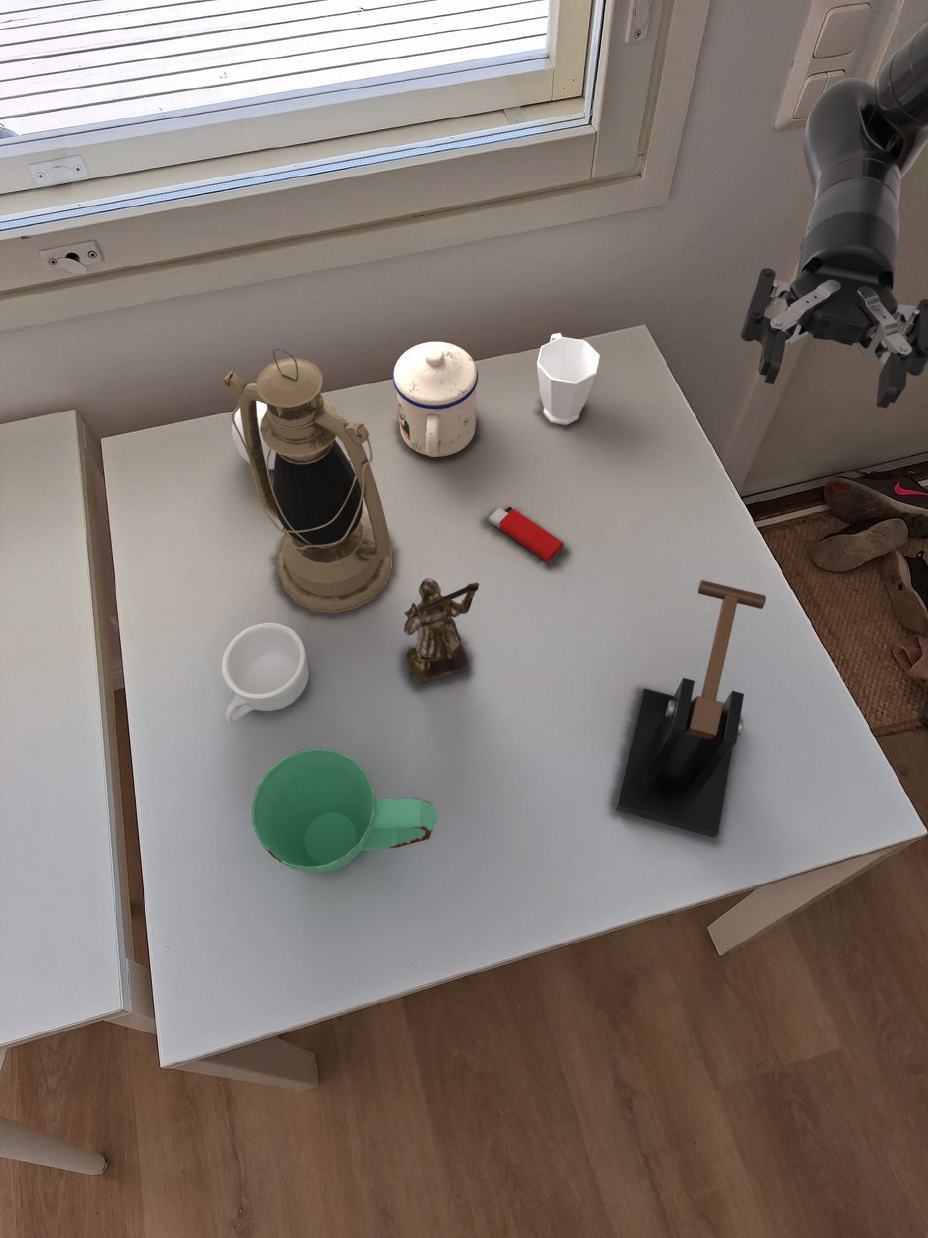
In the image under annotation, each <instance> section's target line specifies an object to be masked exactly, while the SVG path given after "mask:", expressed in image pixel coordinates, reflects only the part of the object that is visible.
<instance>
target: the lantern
mask: <svg viewBox="0 0 928 1238" xmlns="http://www.w3.org/2000/svg"><path fill="white" fill-rule="evenodd" d="M276 351H280V352H283V353H285V354H287V355H288V356H290V357H288V358H287V357H286V358H282V359H278V360H277V358H276V355H275V352H276ZM272 356H273V359H274V360H273V361H274V362H271V363H269V364H268V365H267V366H265V368H263V369H262V370H261V371H260V373H259V375H258V377H257V379H256V383H255V382H253V383H252V382H251V383H247V382H246V381H245V380H243V379H242V378H241V377H240V376H238V375H237V374H235V372H234V371H230V372H229V373H228V374H226V376H224V377H225V378H224V379H223V380H222V384H223V386H224V387H225V389H226V390H227V391H228V392H230V393H231V395H233V396H234V397H236V398H237V406H236V408H235V409H234V410H233V411H232V412H231V422H232V425H233V424H234V426H235V429H236V431H237V433H238V435H239V436H240V439H241V441H242V443H243V445H244V447H245V449H246V452H247V454H248V457H249V461H250V463H249V465H250V468H251V473H252V475H253V480H254V482H255V487H256V492H257V494H258V500H259V504H260V507H261V509H262V511H263V513H264V514H265V515H266V517H267V518H268V520H269V521H270V522H271V523H272V524H273V525H274V526H275V527H276V528H277V530H279V531H280V532H281V533H282V534H283V536H282V540H281V541H282V542H281V544H282V545H281V551H280V553H279V555H278V563H277V564H278V567H277V575H278V578H279V580H280V582H281V586H282V588H283V590H284V592H285V593H286V594H287V595H288V596H289V597H290V598H291V599H292V600H293V601H294V602H295V603H296V604H297V605H300V606H302V607H305V609H309V610H311V611H312V612H318V613H328V614H339V613H342V612H347V611H353V610H356V609H357V608H359V607H361V606H364V605H365V604H366V603H369V602H371V601H372V600H374V598H375V597H376V596H377V595H378V594H379V593H380V592H381V591H382V590H383V589H384V587H386V585H387V583H388V580H389V577H390V575H391V572H392V570H393V552H392V548H391V539H390V535H389V528H388V523H387V520H386V515H385V512H384V507H383V504H382V500H381V497H380V493H379V489H378V486H377V481H376V479H375V476H374V473H373V470H372V468H371V465H370V463H372V461H373V459H374V458H373V457H374V454H373V449H372V444H371V441H370V438H369V437H370V433H369V430H368V428H367V427H365V424H364V423H363V422H356V421H352V422H350V421H348V420H347V419H346V418H345V417H343V416H341V415H340V414H338V410H337V409H336V408H335V406H334V405H333V404H332V403H331V402H330V401H328V400H326V399H325V398H324V397H323V395H322V392H321V389H322V387H323V382H324V381H323V374H322V372H321V370H320V368H319V367H318V366H317V365H315V364H314V363H313V362H311V361H309V360H306V359H305V358H304V359H303V358H299V357H298V358H297V357H294V356H293V355H292V354H291V353H289V352H288V351H286V350H284V349H282V348H274V349H273V350H272ZM257 401H258V402H261V403H264V404H266V406H267V411H266V413H265V414H264V416H263V418H262V420H261V427H260V431H261V435H262V438H263V441H264V442H265V443H266V444H267V446H268V447H269V448H270V450H269V453H268V456H267V463H265V459H264V454H263V449H262V443H261V438H260V432H259V425H258V417H257ZM239 409H240V415H241V421H242V427H243V433H244V438H245V442H244V440H243V438H242V436H241V434H240V432H239V430H238V428H237V426H236V423H235V421H234V417H235V415H236V413H237V411H238V410H239ZM336 438H338V439H339V440H340V441H341V443H342V445H343V446H344V449H345V451H346V453H347V455H346V453H345V452H344V451H343V449H342V447H341V445H340V443H338V441H337V440H336ZM366 442H367V444H368V450H369V453H370V455H369V457H370V458H368V456H367V452H366V451H365V448H364V446H363V444H364V443H366ZM245 443H246V444H245ZM271 449H272V450H273V451H275V452H276V454H275V463H274V470H273V482H272V481H271V477H270V469H268V459H269V455H270V452H271ZM347 456H348V457H347ZM348 458H349V459H348ZM266 466H267V467H266ZM364 504H365V507H366V511H367V514H366V512H364ZM269 514H270V515H272V516H273V517H274V518H275V519H276V520H278V521H279V522H280V525H282V527H283V528H281V527H280V526H279V525H278V524H277V523H276V522H275V521H274V519H272V517H271V516H270V515H269Z"/></svg>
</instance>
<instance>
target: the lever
mask: <svg viewBox="0 0 928 1238" xmlns="http://www.w3.org/2000/svg"><path fill="white" fill-rule="evenodd" d="M697 594H699V595H703V596H707V597H711V598H715V599H719V600H721V606H720V609H719V610H720V611H719V615H718V619H717V623H716V629H715V633H714V637H713V642H712V646H711V650H710V656H709V659H708V663H707V668H706V673H705V677H704V682H703V686H702V690H701V694H700V695H696V696H695V697H694V698H693V700H691V701H692V703H691V707H690V712H689V716H688V720H687V725H686V729H685V733H687V734H691V735H695V736H698V737H702V738H706V739H710V740H711V739H712V738H714V737H715V736H716V735H717V732H718V727H719V723H720V718H721V713H722V709H723V704H724V703H725V702H724V701H723V702H722V701H719V700H717V697H718V694H719V693H718V692H719V688H720V683H721V679H722V673H723V670H724V666H725V660H726V656H727V650H728V646H729V643H730V638H731V634H732V630H733V629H732V628H733V624H734V620H735V615H736V610H737V606H738V604H739V605H743V606H747V607H751V608H755V609H759V610H763V608H764V607H765V604H766V600H767V596H766V595H764V594H760V593H757V592H754V591H749V590H744V589H741V588H736V587H732V586H728V585H724V584H720V583H716V582H713V581H708V580H704V579H700V581H699V585H698V587H697Z"/></svg>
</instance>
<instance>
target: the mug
mask: <svg viewBox="0 0 928 1238" xmlns="http://www.w3.org/2000/svg"><path fill="white" fill-rule="evenodd" d="M375 794H376V793H375V789H374V786H373V784H372V782H371V780H370V778H369V775H368V773H367V772H366V771H365V770H364V769H363V768H362V767H361V765H360V764H359V763H358V762H357V761H356V760H355V759H354V758H352V757H350V756H348V755H346V754H344V753H343V752H340V751H338V750H333V749H327V748H322V747H321V748H320V747H318V748H309V749H303V750H299V751H296V752H295V753H292V754H290V755H288V756H285V757H283V758H282V759H281V760H279V761H278V762H277V763H276V764H275V765H273V767H271V768H270V769H269V770H268V771H267V772H266V773H265V775H264V777H263V778H262V780H261V781H260V783H259V784H258V785H257V787H256V791H255V795H254V797H253V801H252V804H251V811H252V812H251V818H252V821H251V823H252V827H253V830H254V833H255V835H256V837H257V840H258V842H259V844H260V845H261V847H263V849H265V851H267V853H268V854H269V855H270V856H271V857H272V858H274V859H275V860H277V862H279V863H280V864H281V865H283V866H285V867H287V868H289V869H291V870H297V871H301V872H306V873H311V874H320V873H328V872H334V871H336V870H339V869H340V868H342V867H344V866H346V865H348V864H350V863H351V862H352V861H353V860H354V859H355V858H356V857H357V856H358V855H359V854H360V853H361V852H363V851H365V852H366V851H374V850H375V851H376V850H385V849H387V850H388V849H397V848H401V847H405V846H409V845H412V844H416V843H420V842H424V841H426V840H429V839H430V838H431V835H432V832H433V830H434V828H435V825H436V822H437V819H438V814H437V808H436V806H435V804H434V803H433V802H430V801H428V800H424V799H422V798H383V799H376V795H375Z"/></svg>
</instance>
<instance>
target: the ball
mask: <svg viewBox="0 0 928 1238" xmlns="http://www.w3.org/2000/svg"><path fill="white" fill-rule="evenodd" d="M266 411H267V406H266V404H264V403H261V402H258V401H257V417H258V425H259V432H260V438H261V443H262V449H263V454H264V459H265V463H267V456H268V453H269V450H270V448H269V447H268V446H267V444H266V443H265V442H264V441H263V438H262V435H261V431H260V427H261V420H262V418H263V416H264V414H265V413H266ZM234 421H235V423H236V426H237V428H238V430H239V432H240V434H241V436H242V438H243V440H244V442H245V438H244V433H243V427H242V421H241V415H240V408H239V409H238V410H237V411H236V412H235V414H234ZM231 434H232V442H233V445H234V447H235V449H236V450H237V452H238V454H239V455H240V457H242V458H243V459H244V460H245V461H246V462H247V463H249V464H250V461H249V457H248V454H247V452H246V449H245V447H244V445H243V443H242V441H241V439H240V436H239V435H238V433H237V431H236V429H235V426H234V424H233V423H232V425H231ZM245 444H246V443H245ZM275 454H276V452H275V451H273V450H272V449H271V452H270V455H269V459H268V470H273V471H274V463H275ZM266 467H267V466H266Z"/></svg>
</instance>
